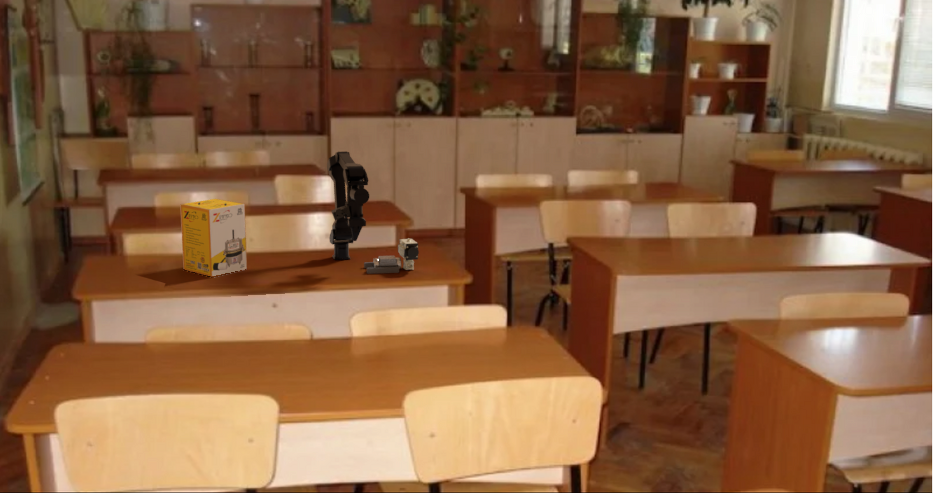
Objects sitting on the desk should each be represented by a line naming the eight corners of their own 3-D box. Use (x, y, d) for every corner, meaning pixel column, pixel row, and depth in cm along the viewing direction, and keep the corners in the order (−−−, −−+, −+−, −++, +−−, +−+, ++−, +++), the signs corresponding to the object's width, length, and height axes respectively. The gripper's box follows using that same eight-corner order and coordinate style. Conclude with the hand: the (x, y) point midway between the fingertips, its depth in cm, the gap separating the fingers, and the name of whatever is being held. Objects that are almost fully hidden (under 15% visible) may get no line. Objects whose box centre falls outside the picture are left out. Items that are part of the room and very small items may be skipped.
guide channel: (364, 267, 343) (364, 262, 342) (395, 266, 345) (395, 261, 345) (367, 273, 334) (367, 268, 333) (399, 272, 336) (399, 267, 336)
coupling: (373, 268, 341) (373, 256, 340) (399, 268, 344) (399, 255, 342) (375, 272, 337) (375, 259, 335) (401, 271, 339) (401, 258, 338)
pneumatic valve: (409, 264, 348) (410, 234, 345) (418, 272, 337) (419, 241, 335) (396, 265, 346) (396, 235, 344) (404, 273, 336) (405, 242, 333)
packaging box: (218, 262, 345) (216, 198, 339) (246, 269, 336) (244, 203, 330) (183, 270, 332) (180, 204, 327) (211, 278, 323) (208, 209, 317)
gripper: (330, 195, 338) (330, 236, 342) (335, 204, 320) (335, 246, 324) (360, 195, 341) (360, 235, 344) (366, 203, 323) (366, 246, 326)
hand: (354, 240), depth 335 cm, fingers closed
